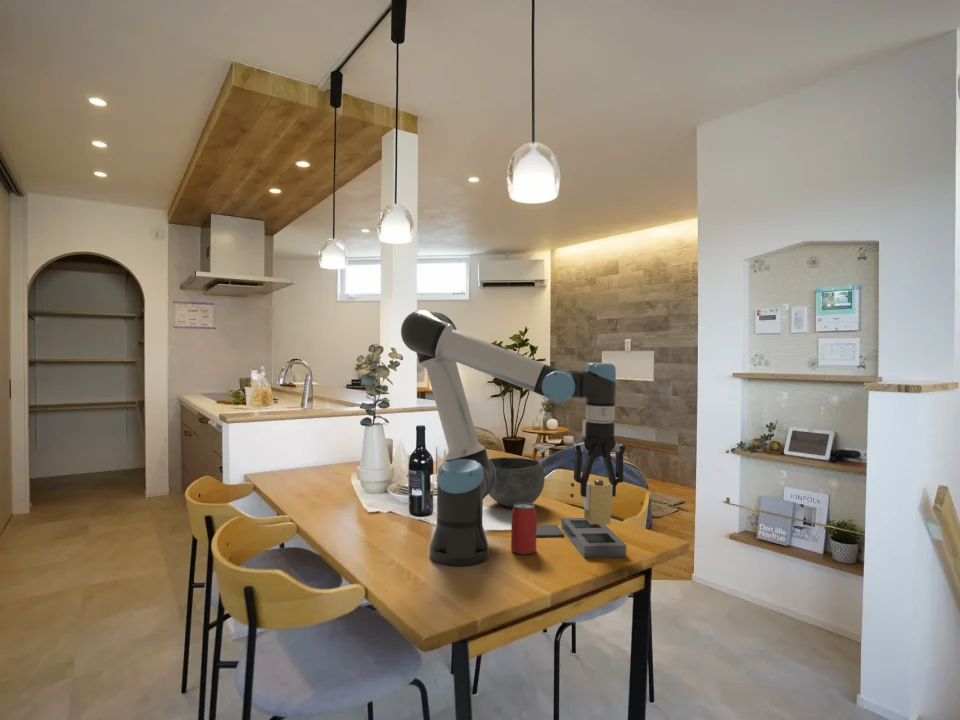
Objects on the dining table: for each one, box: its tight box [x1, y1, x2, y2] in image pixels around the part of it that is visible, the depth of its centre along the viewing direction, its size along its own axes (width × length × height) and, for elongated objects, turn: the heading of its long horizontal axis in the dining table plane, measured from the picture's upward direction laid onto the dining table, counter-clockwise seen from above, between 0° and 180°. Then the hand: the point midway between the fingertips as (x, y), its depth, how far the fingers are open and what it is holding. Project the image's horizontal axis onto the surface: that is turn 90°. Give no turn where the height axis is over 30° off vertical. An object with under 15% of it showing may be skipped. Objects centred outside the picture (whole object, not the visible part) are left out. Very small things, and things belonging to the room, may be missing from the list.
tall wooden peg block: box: [583, 479, 612, 525], centre depth 147 cm, size 5×5×11 cm
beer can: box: [510, 503, 538, 556], centre depth 145 cm, size 7×7×12 cm
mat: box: [536, 524, 565, 538], centre depth 161 cm, size 9×9×1 cm
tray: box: [560, 517, 627, 559], centre depth 153 cm, size 11×24×3 cm, turn 6°
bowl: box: [488, 456, 546, 509], centre depth 188 cm, size 21×21×15 cm
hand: (597, 508), depth 147 cm, fingers closed on tall wooden peg block, 5 cm apart
